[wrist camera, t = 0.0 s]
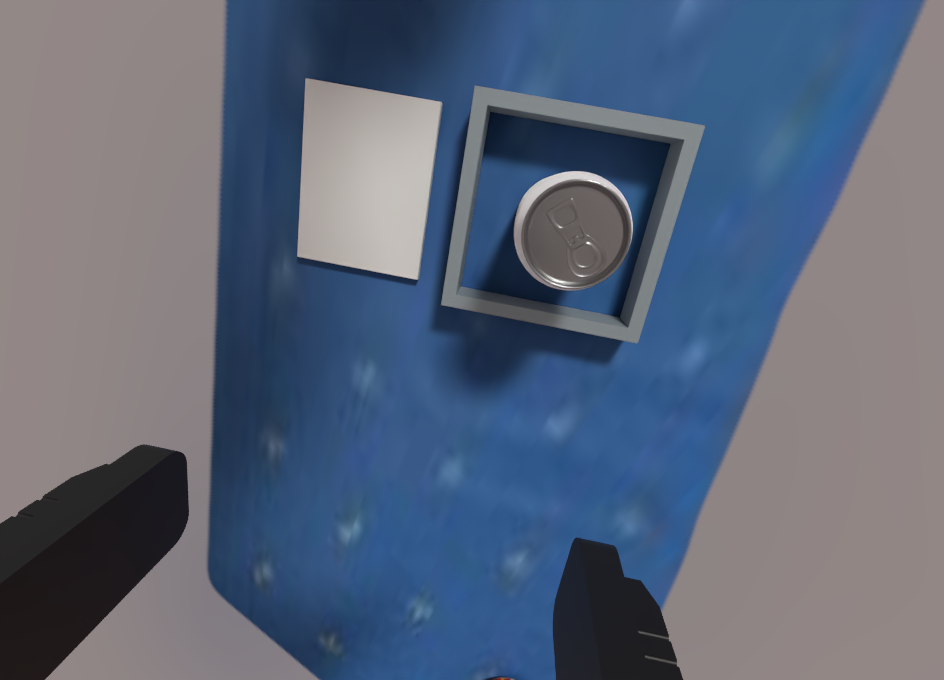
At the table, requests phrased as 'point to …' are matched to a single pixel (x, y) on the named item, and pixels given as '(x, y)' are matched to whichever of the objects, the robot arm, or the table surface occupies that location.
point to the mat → (366, 177)
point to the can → (572, 230)
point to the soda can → (503, 678)
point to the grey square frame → (655, 237)
